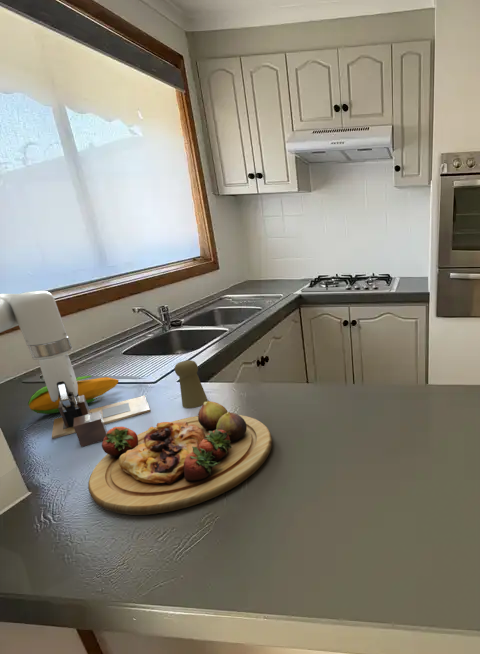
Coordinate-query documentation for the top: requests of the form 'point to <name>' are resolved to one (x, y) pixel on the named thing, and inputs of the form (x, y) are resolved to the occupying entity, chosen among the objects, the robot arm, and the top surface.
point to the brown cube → (90, 428)
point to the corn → (88, 388)
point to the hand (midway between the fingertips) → (77, 418)
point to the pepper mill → (190, 384)
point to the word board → (107, 414)
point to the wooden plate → (178, 461)
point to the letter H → (81, 403)
